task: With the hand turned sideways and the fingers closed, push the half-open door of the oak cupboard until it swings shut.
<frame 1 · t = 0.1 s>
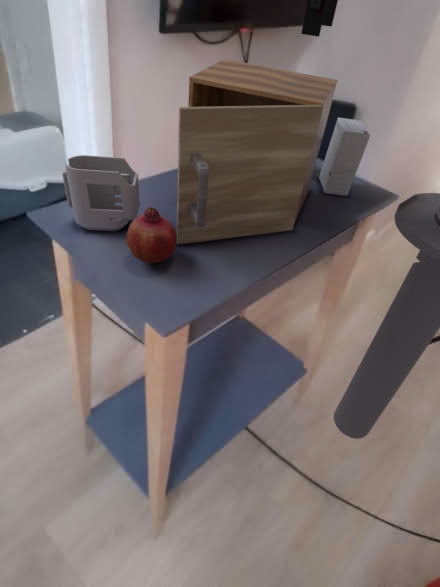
hand: (317, 30, 65), 32 cm above the table, tool pointing down, fingers open, 13 cm apart
cosmetic box: (333, 188, 95), on the table
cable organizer: (110, 225, 74), on the table
cupboard: (249, 194, 88), on the table
cupboard door: (251, 185, 65), point 12 cm above the table, hinge at 40.0°
fruit: (152, 260, 67), on the table
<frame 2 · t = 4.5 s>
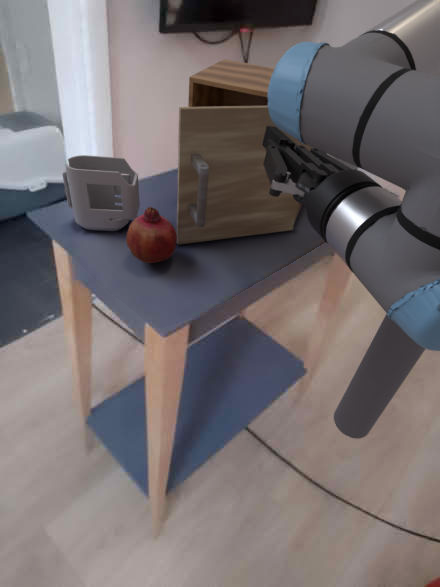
hand: (269, 135, 56), 21 cm above the table, tool horizontal, fingers closed
nothing on the table moved.
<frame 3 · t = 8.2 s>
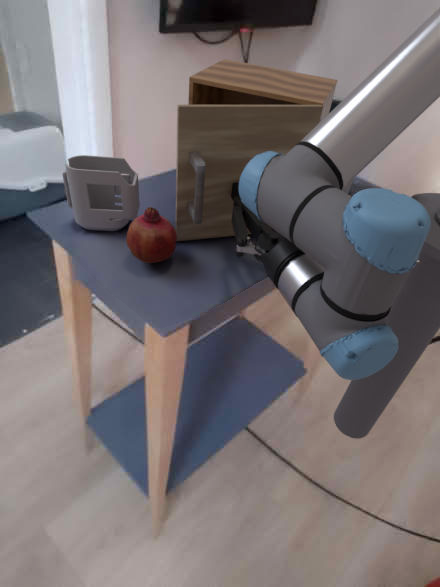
hand: (235, 189, 68), 10 cm above the table, tool horizontal, fingers closed
cupboard door: (249, 184, 66), point 12 cm above the table, hinge at 37.4°, touching gripper
everything else where it was.
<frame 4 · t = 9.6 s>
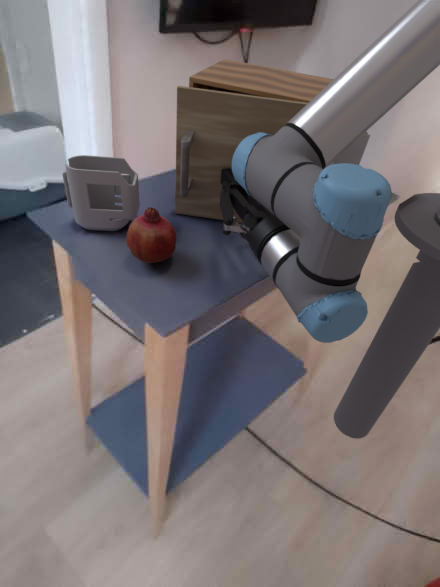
hand: (225, 175, 71), 10 cm above the table, tool horizontal, fingers closed
cupboard door: (239, 171, 69), point 12 cm above the table, hinge at 13.3°, touching gripper
everything else where it was.
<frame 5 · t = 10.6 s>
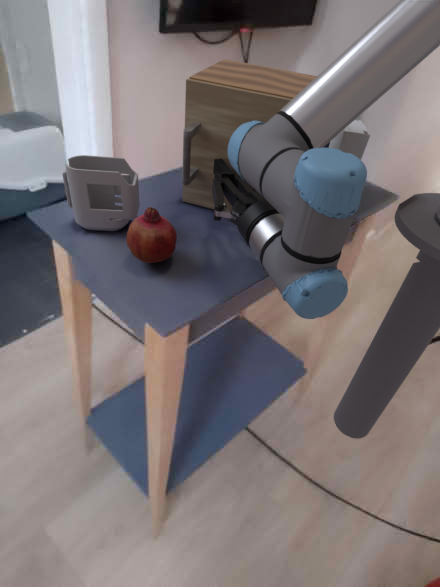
hand: (217, 165, 74), 10 cm above the table, tool horizontal, fingers closed
cupboard door: (238, 164, 71), point 12 cm above the table, hinge at 0.6°, touching gripper
everything else where it was.
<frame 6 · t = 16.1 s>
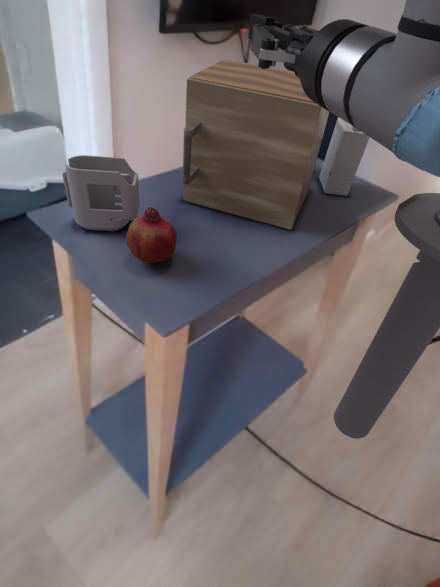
hand: (254, 26, 53), 33 cm above the table, tool horizontal, fingers closed
cupboard door: (239, 164, 71), point 12 cm above the table, hinge at -0.2°
everything else where it was.
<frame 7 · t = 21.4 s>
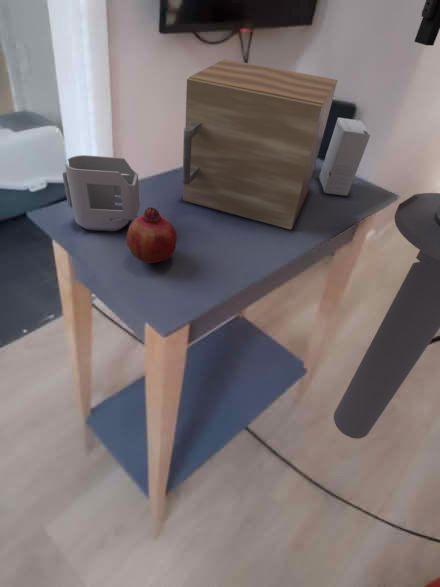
hand: (423, 43, 62), 32 cm above the table, tool pointing down, fingers closed
nothing on the table moved.
at the end: cupboard door at +0° (first picture: +40°) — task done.
